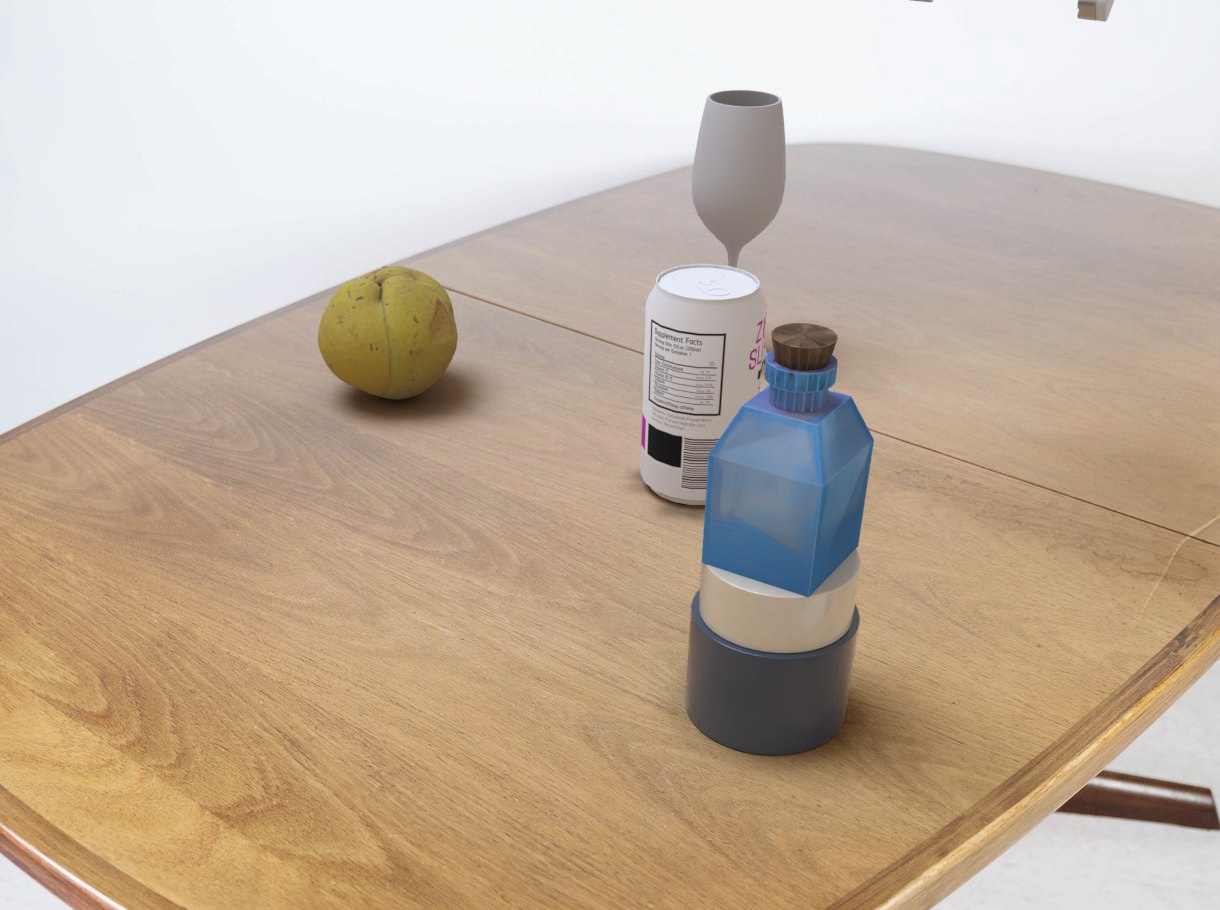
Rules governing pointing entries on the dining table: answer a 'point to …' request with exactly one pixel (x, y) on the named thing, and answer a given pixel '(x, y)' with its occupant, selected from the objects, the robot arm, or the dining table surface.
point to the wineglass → (739, 167)
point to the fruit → (389, 332)
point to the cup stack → (771, 660)
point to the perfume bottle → (789, 471)
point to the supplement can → (696, 371)
